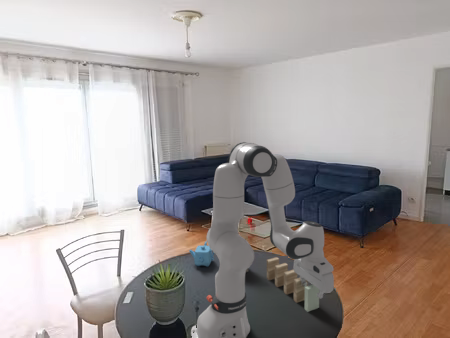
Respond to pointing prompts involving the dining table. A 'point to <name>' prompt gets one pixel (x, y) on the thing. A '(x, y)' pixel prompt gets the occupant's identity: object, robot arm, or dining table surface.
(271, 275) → the domino
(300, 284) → the domino
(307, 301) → the end domino
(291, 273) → the domino
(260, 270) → the dining table surface
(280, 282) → the domino
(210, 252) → the teapot
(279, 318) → the dining table surface
